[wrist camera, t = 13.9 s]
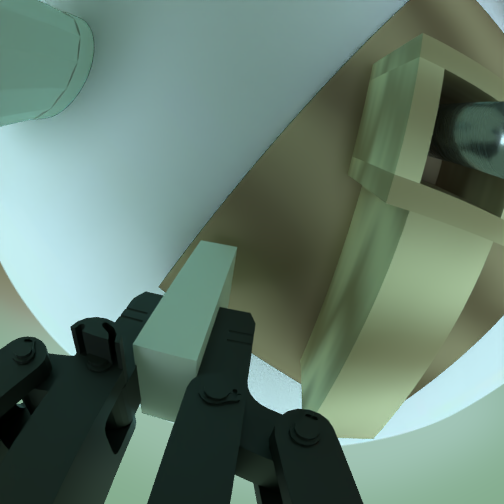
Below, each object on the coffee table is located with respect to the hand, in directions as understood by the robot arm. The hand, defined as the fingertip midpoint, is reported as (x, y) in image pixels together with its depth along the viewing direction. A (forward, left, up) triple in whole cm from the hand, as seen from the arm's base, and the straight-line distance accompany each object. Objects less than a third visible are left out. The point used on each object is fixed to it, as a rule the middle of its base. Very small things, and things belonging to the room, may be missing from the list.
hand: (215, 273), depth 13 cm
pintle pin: (-10, +2, -2) cm, 11 cm away
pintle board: (-8, +7, -2) cm, 11 cm away
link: (-5, +5, -1) cm, 8 cm away
